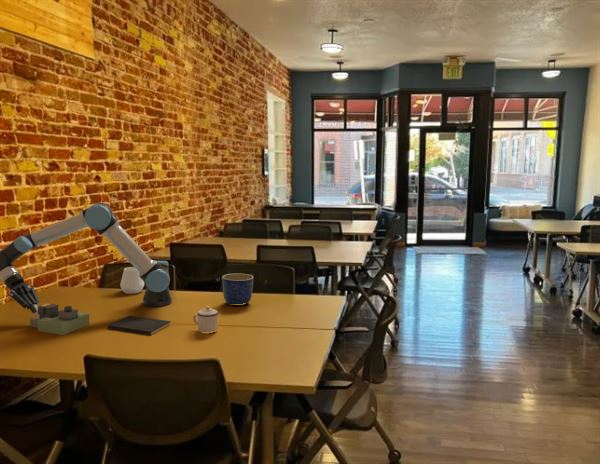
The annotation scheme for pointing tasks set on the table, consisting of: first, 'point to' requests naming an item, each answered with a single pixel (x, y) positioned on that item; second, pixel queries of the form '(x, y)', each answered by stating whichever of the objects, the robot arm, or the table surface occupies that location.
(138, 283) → the cup
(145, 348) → the table surface
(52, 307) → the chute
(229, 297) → the planter
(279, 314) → the table surface
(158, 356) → the table surface
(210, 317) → the teacup with lid
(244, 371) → the table surface
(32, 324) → the flat slab with knob
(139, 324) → the hardcover book
